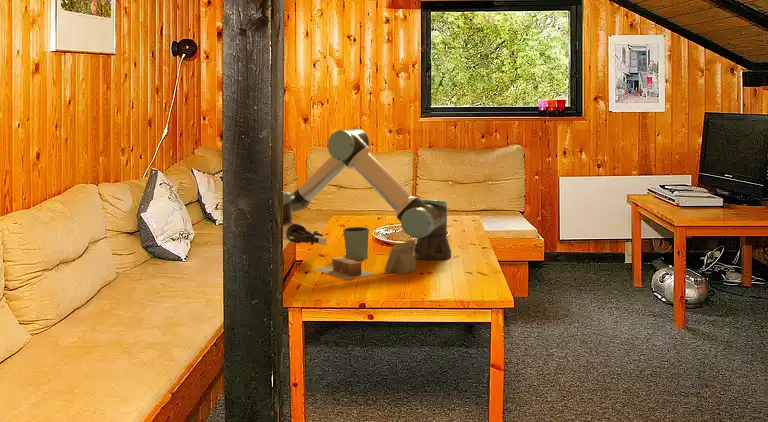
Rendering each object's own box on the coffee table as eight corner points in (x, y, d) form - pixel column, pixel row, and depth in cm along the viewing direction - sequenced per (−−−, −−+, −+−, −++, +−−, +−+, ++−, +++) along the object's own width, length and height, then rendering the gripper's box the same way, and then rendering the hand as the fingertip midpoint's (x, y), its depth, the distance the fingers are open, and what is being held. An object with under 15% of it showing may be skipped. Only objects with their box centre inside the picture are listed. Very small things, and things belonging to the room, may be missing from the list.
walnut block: (331, 258, 301) (350, 264, 290) (342, 256, 303) (361, 262, 293) (332, 270, 301) (350, 276, 291) (342, 268, 304) (361, 274, 293)
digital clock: (406, 265, 310) (405, 238, 308) (424, 268, 304) (424, 241, 302) (377, 273, 298) (377, 244, 297) (396, 276, 292) (395, 247, 291)
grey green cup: (373, 257, 326) (373, 227, 325) (362, 262, 317) (361, 231, 315) (351, 255, 331) (350, 226, 329) (339, 260, 321) (338, 230, 320)
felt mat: (313, 269, 304) (313, 268, 304) (343, 265, 312) (343, 264, 312) (344, 280, 287) (344, 279, 286) (375, 275, 294) (375, 274, 294)
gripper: (308, 240, 331) (339, 249, 312) (280, 244, 324) (310, 253, 305) (308, 222, 330) (339, 230, 311) (279, 225, 323) (309, 233, 304)
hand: (324, 241), depth 308 cm, fingers closed
